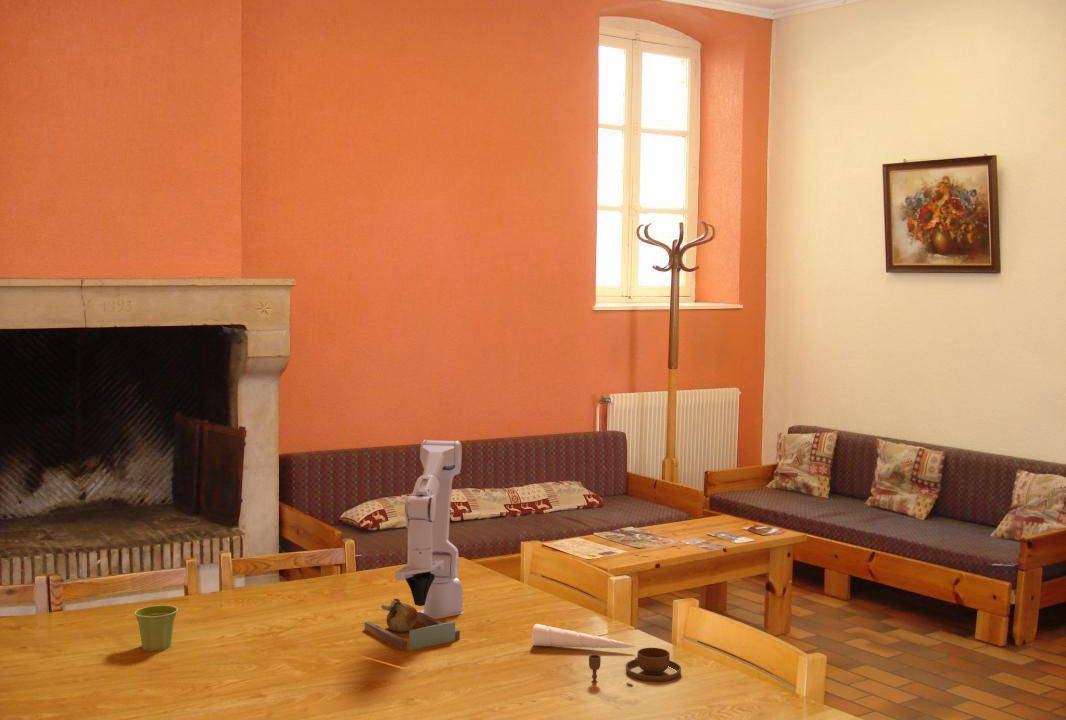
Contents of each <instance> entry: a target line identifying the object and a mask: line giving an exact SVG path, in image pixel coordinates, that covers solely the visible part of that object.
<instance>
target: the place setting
mask: <svg viewBox="0 0 1066 720" xmlns="http://www.w3.org/2000/svg"><path fill="white" fill-rule="evenodd" d="M636 654H637V656H636V657H634V659H631V660H629V661H628V662H627V663H626V664H625V670H626V673H627V674H628V675H629V676H631V677H632V678H634V679H637V680H640V681H645V682H657V681H658V682H659V681H661V682H667V680H669V681H672V680H675V679H676V678H678V677H679V676H680V674H681V672H682V667H681V665H680V664H679V663H677V662H675V661H672V660H670V656H671V655H670V652H669V651H668V650H666V649H664V648H660V647H659V648H658V647H643V648H640V649H639V650H638V651H637V653H636ZM601 662H602V661H601V655H599V654H590V655H589V656H588V667H589V669H590V670H591V671H592V675H591V678H592V680H591V681H590V682H591V683H592V684H598V683H599V682H598V680H597V678H598V675H597V671H598V670H599V669H600V668H601ZM668 666H669V667H671V668H673V669H675V670H676V671H677V672H676V673H675V672H674V673H671V674H667V675H661V674H663V672H665V671H666V670H667V669H669V668H668ZM636 667H639V669H641V671H643V672H644V673H645V674H642V673H637V672H635V671H632V669H634V668H636ZM674 678H675V679H674ZM671 679H672V680H671ZM658 682H657V683H658ZM626 686H629V687H631V688H633V687H634V684H633V683H628V682H626ZM643 687H646V686H645V685H644V686H643Z"/></svg>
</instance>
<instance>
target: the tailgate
mask: <svg viewBox="0 0 1066 720" xmlns="http://www.w3.org/2000/svg"><path fill="white" fill-rule="evenodd" d="M443 623H444V624H439V625H433V626H425V627H419V628H415V629H414V628H412V629H411V630H409V631H408V632H409V633H408V637H409V638H408V639H409V641H408V642H409V644H408V650H409V651H413V650H418V649H423V648H428V647H432V646H436V645H442V644H446V643H452V642H455V641H456V640H455V629H456V621H454V620H453V621H450V622H446V623H445V622H443Z"/></svg>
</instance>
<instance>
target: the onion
mask: <svg viewBox="0 0 1066 720" xmlns="http://www.w3.org/2000/svg"><path fill="white" fill-rule="evenodd" d="M390 602H391V603H390V605H386V604H381V609H382V610H384V611H387V612H388V613H387V615H386V625H387V627H388V629H390V630H391V631H392V632H396V633H405V632H409V630H413V629H414V628H415V627H416V626H415V625H416V624H417V623H418V621H417V620H418V612H417V611H418V610H417V608H415V607H414V606H413V605H410V604H407V603H403V602H402V601H401V599H399V598H394V599H393V600H391V601H390Z"/></svg>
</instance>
